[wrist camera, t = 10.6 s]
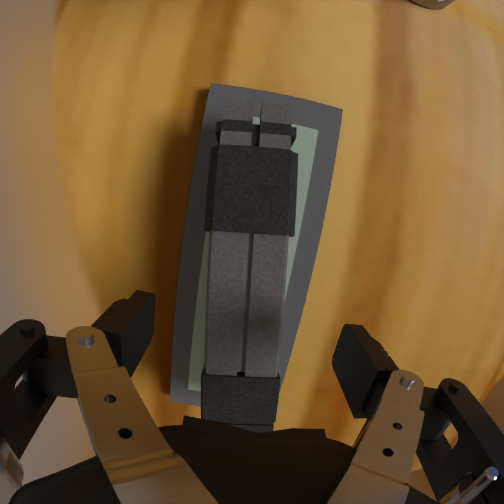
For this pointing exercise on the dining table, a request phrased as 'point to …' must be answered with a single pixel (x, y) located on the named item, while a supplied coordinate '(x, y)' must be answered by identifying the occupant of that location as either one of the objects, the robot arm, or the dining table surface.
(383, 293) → the dining table surface
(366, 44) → the dining table surface
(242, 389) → the gun
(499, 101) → the dining table surface
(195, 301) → the charging mat
